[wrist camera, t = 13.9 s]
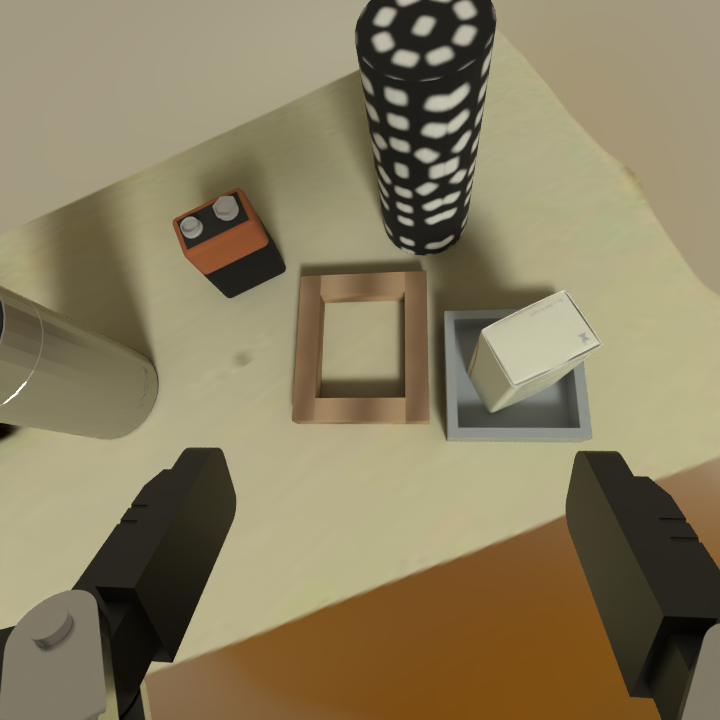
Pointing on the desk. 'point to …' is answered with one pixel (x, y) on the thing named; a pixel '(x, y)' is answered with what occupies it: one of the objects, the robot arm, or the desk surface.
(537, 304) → the skincare box
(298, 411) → the brown flat rectangular frame
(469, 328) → the tray
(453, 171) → the white-spotted black cylinder
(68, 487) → the desk surface
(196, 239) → the battery
